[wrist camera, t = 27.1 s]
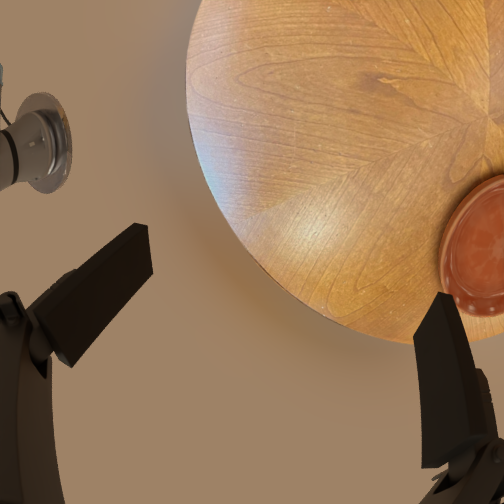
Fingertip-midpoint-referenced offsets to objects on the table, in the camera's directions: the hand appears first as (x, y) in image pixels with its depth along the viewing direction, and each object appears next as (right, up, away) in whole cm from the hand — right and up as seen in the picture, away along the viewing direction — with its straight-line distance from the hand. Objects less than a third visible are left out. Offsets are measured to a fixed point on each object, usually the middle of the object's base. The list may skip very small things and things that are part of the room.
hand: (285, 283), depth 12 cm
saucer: (+35, +3, +19) cm, 40 cm away
